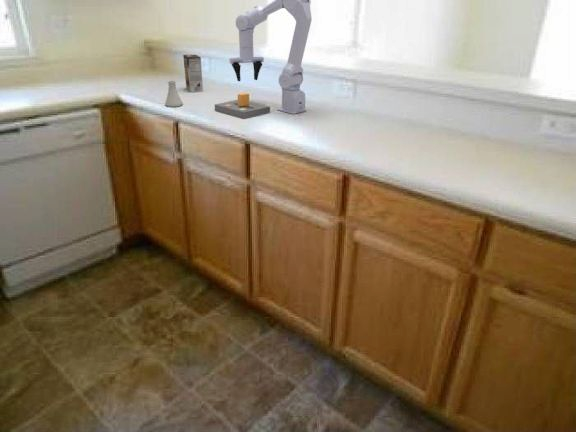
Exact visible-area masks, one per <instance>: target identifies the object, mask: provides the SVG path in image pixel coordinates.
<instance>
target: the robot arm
mask: <svg viewBox="0 0 576 432" xmlns="http://www.w3.org/2000/svg"><path fill="white" fill-rule="evenodd" d="M311 3H312V0H272V1H271V2H269V3H268V4H266V5H264V6H262V5H255V6H254V8H253V9H252V10H250V11H246V12H245V14H239V15H238V16H237V17H236V19H235V26H236V28H237V30H238V37H239V38H238V42H239V57H230V58H229V64H230V65H231V67H232V68H233V70H234V74H235V76H236V79H237V82H241V81H242V80H241V64H244V63H245V64H246V63H249V64H250V63H252V65H253V79H254V80H255V81H257V80H258V78H259V74H260V71H261V68H262V66H263V63H264V62H265V61H264V58H265V57H264V56H254V32H255V31H254V30H255V28H256V26H259V25H260V24H262V23H264V22H265V21H267V20H268V16H269V15H271V14H273V13H275V12H278V11H279V10H282V9H285V11H287V12H288V13H289V14H290V15H291V16H292V17H293V19H294V20H295V26H294V30H293V36H292V40H291V45H290V50H289V54H288V57H287V63H286V64H285V65H284V66H283V68H282V71H281V73H280V75H279V76H278V84H279V86H280V87H281V107H280V108H279V107H278V108H276V109H277V111H280V112H283V113H289V114H292V115H295V114H298V113H302V112H306V111H307V109H306V93H305V91H303V90H301V85H302V83H303V82H304V74H303V73H304V69H303V67H302V62H303V58H304V55H305V54H304V53H305V50H306V46H307V41H308V37H309V32H310V28H311V23H312V19H313V18H312V11H311Z"/></svg>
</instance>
